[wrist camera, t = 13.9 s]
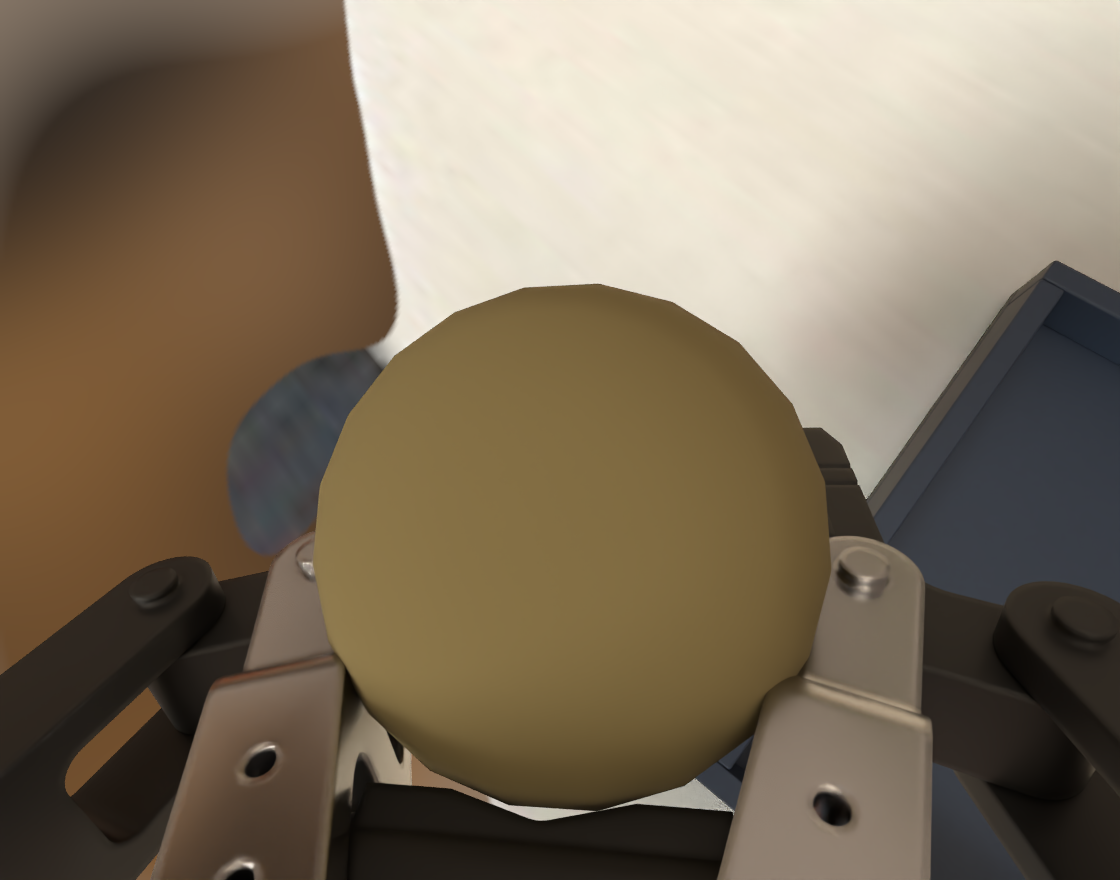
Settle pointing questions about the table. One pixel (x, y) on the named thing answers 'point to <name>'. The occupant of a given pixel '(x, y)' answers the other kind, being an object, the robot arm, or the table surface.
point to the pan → (1006, 497)
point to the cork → (571, 546)
